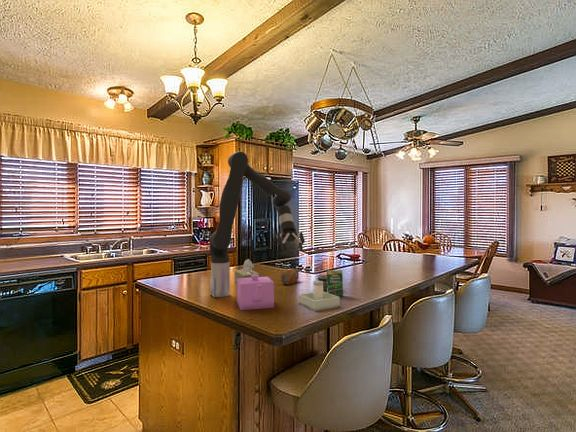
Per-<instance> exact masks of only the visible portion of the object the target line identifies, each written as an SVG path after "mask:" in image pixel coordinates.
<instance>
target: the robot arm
mask: <svg viewBox="0 0 576 432" xmlns="http://www.w3.org/2000/svg"><path fill="white" fill-rule="evenodd" d="M227 163H228V164H227V165H228V167H229V175H228V177H227V180H226V183H225V184H224V186H223V189H222V191H221V192H222V193H221V196H220V202H219V208H218V209H219V211H218V212H219V221H218V224H217V229H216V231H213V233H212V234H210V238H209V255H210V266H211V267H210V272H211V275H210V276H209V295H210V296H211V295H212V296H213V297H212V296H211V297H212V298H224V297H225V298H226V297H229V296H230V291H231V290H230V256H229V253H228V248H229V246H230V245H231V242H232V235H233V228H234V227H233V226H234V221H235V218H236V213H237V211H238V205H239V201H240V197H241V191H242V185H243V179H244V178H246V179H247V180H249V181H250V182H251V183H252V184H254V185H255V186H256V187H257V188H258V189H260V191H262V192H263V193H264V194H265V195H266V196H268V197H270V196H273V195H274V197H273V199H272V204H273V206H274V208H275V210H276V212H277V214H278V218H279V219H278V221H279V226H280V231H281V233H280V232H277V233H276V236H275V237H276V244H277V245H278V246H279V245H280V246H281V250H282V252H283V253H286V252H287V248H286V242H288V243H289V242H294V243H295V244H297V246H298V251H299V252H302V251H303V249H304V247H303V245H304V244H305V241H306V240H305V238H304V237H305V236H304V235H303V233H304V232H302V231H300V232H297V229H296V226H295V221H294V217H293V214H292V210H291V208H290V206H289V205H287V203H289V202H290V201H291V200H292V199H291V194H290V192H288V191H287V190H286V189H284V188H282V187H280V186H278V185H276V184H274V183H273V182H272V181H271V180H270V179H269V178H267V177H266V176H265V175H264V174H261V173H260V172H258V171H256V170H255V169H254V168H252V167H251V166H250V165H249V157H248V155H247V154H246V153H245V152H243V151H235V152H234V153H232V154H231V155H229V157H228V160H227ZM281 237H282V238H283V239H282V241H281Z"/></svg>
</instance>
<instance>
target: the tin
mask: <svg viewBox="0 0 576 432" xmlns="http://www.w3.org/2000/svg"><path fill="white" fill-rule="evenodd" d="M298 280H299V270H298V269H297V268H289V269H284V270H282V272H281V273H280V281H281V284H283V285H291V284H294V283H296V282H297V281H298Z"/></svg>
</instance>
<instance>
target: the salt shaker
mask: <svg viewBox="0 0 576 432" xmlns="http://www.w3.org/2000/svg"><path fill="white" fill-rule="evenodd" d="M312 283H313V284H312V285H313V289H312V290H313V291H312V292H313V300H321V299H323V281H318V280H314V281H313V282H312Z"/></svg>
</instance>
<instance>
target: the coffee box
mask: <svg viewBox="0 0 576 432" xmlns="http://www.w3.org/2000/svg"><path fill="white" fill-rule="evenodd" d="M326 275H327V292H326V293H329V294H332V295H335V296H338V297H340V298H341V297H344V293H343V292H344V287H343V286H344V285H343V282H344V281H343V277H344V276H343V270H341V269H339V270H326Z"/></svg>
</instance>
